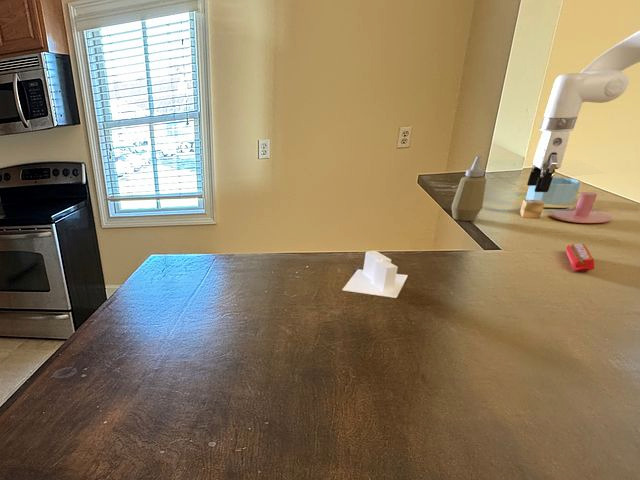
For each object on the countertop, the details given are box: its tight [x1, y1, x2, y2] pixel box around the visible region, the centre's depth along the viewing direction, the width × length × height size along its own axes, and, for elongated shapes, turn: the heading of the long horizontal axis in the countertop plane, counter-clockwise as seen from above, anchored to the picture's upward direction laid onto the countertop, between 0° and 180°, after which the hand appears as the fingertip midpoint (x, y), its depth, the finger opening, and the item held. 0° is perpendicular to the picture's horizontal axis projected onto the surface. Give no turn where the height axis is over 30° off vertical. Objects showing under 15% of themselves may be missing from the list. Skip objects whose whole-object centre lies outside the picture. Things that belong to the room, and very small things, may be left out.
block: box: [519, 199, 545, 219], centre depth 144 cm, size 4×4×4 cm
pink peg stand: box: [550, 191, 613, 224], centre depth 138 cm, size 14×14×7 cm
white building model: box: [341, 250, 409, 299], centre depth 106 cm, size 15×11×6 cm
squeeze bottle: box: [451, 155, 487, 222], centre depth 143 cm, size 8×8×18 cm
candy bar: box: [565, 243, 595, 273], centre depth 109 cm, size 16×4×3 cm, turn 150°
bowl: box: [525, 176, 583, 210], centre depth 153 cm, size 13×13×8 cm
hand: (536, 188), depth 141 cm, fingers open, 9 cm apart
